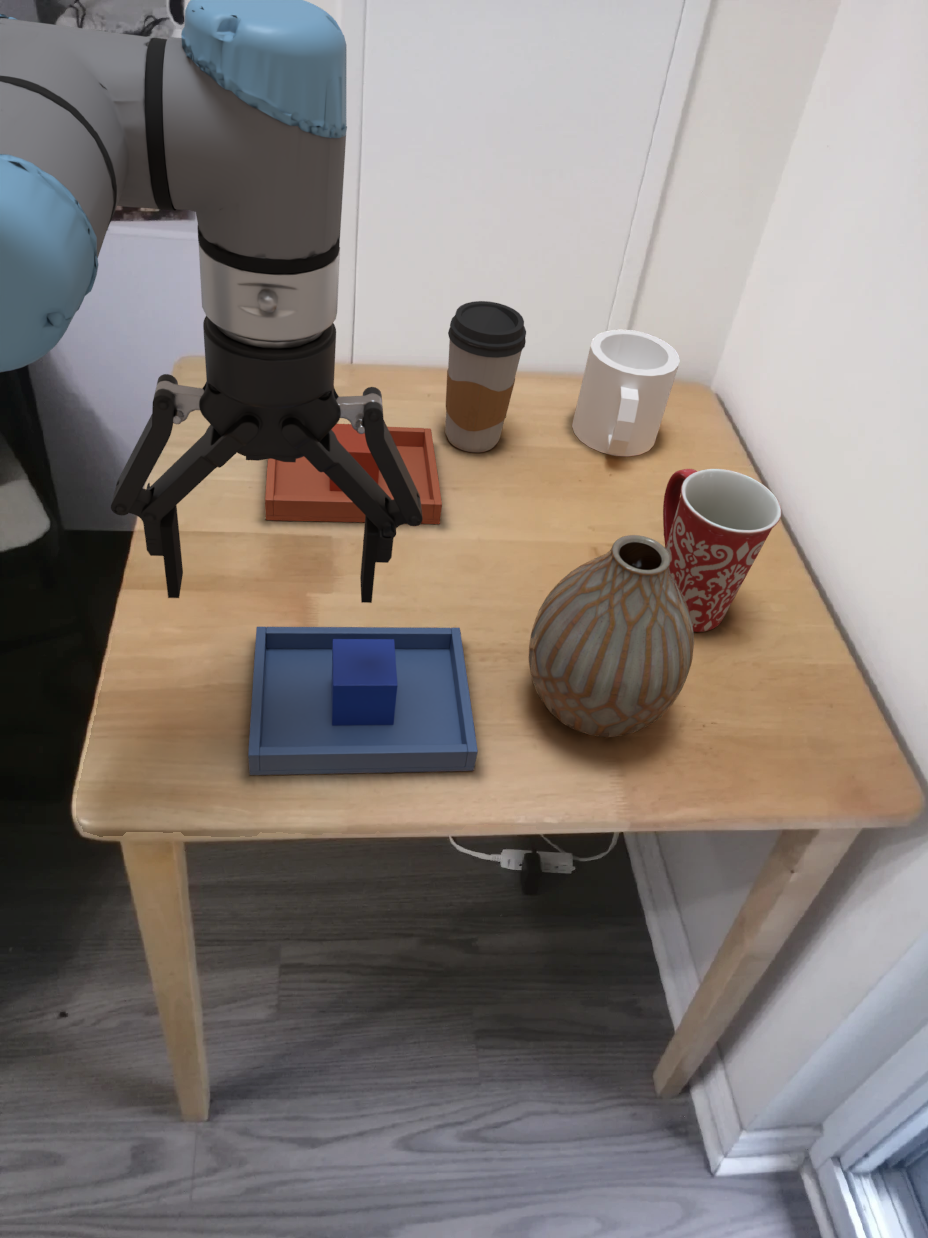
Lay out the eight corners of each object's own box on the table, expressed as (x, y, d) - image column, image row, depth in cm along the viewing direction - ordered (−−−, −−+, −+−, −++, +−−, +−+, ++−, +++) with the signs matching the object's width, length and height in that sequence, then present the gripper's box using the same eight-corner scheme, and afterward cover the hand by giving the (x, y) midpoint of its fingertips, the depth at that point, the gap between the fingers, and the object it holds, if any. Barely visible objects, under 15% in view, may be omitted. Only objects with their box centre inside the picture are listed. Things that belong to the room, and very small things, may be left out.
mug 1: (659, 478, 107) (686, 397, 100) (571, 465, 107) (591, 383, 100) (652, 414, 117) (676, 336, 109) (572, 402, 117) (590, 323, 109)
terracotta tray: (265, 520, 94) (265, 499, 92) (270, 441, 103) (270, 421, 102) (439, 524, 97) (442, 504, 95) (429, 447, 106) (431, 428, 104)
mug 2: (750, 633, 91) (801, 525, 81) (667, 646, 88) (711, 536, 79) (690, 548, 99) (731, 441, 89) (613, 558, 96) (646, 449, 87)
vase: (662, 661, 87) (720, 513, 74) (669, 776, 77) (737, 628, 65) (522, 639, 86) (557, 486, 74) (512, 752, 77) (550, 599, 65)
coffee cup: (514, 428, 111) (536, 309, 101) (497, 466, 105) (519, 344, 95) (447, 410, 112) (462, 291, 102) (427, 447, 106) (440, 325, 96)
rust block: (329, 490, 98) (330, 451, 94) (329, 462, 101) (330, 422, 98) (377, 492, 98) (380, 452, 95) (375, 463, 102) (378, 424, 98)
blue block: (332, 725, 76) (333, 685, 73) (331, 679, 80) (332, 638, 76) (393, 725, 77) (397, 685, 73) (390, 679, 80) (394, 639, 77)
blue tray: (249, 775, 72) (248, 755, 71) (257, 647, 82) (256, 626, 80) (473, 771, 75) (478, 751, 73) (456, 647, 85) (459, 627, 83)
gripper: (23, 334, 49) (83, 620, 64) (492, 366, 53) (446, 627, 68) (52, 269, 54) (101, 547, 69) (477, 303, 58) (437, 558, 73)
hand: (272, 588), depth 68 cm, fingers open, 13 cm apart
